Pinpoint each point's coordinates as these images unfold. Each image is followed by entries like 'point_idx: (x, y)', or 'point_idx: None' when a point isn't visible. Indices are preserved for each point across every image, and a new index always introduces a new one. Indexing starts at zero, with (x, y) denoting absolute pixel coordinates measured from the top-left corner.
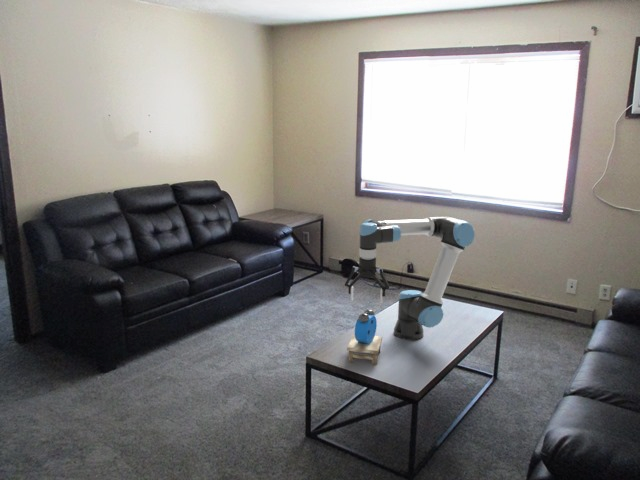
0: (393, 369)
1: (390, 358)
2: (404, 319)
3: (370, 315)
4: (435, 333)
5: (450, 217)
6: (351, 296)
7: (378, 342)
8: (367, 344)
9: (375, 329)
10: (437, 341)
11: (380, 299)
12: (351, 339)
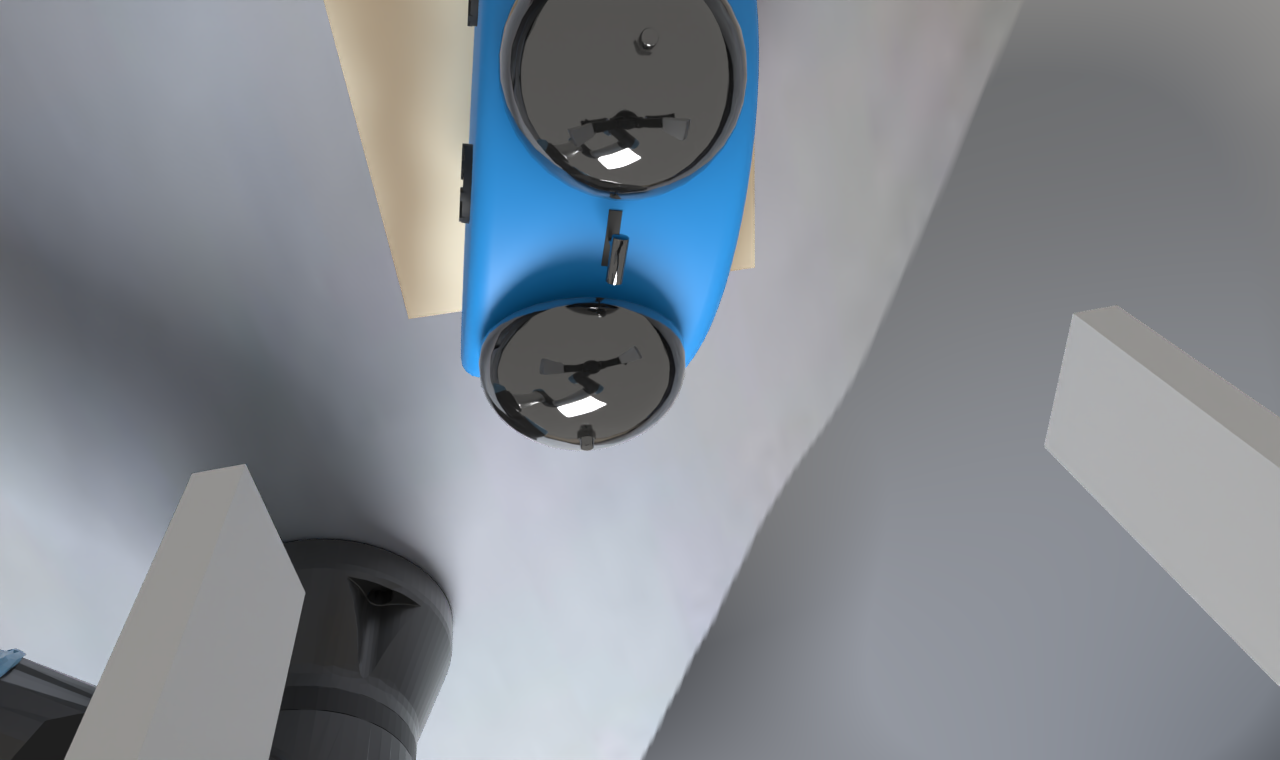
0: None
1: (264, 112)
2: (309, 706)
3: (522, 261)
4: None
5: None
6: (1211, 394)
7: (388, 136)
8: None
9: (463, 274)
10: (28, 610)
11: (201, 567)
12: None
